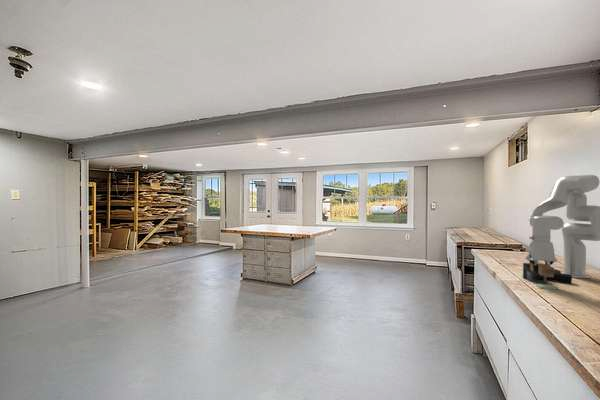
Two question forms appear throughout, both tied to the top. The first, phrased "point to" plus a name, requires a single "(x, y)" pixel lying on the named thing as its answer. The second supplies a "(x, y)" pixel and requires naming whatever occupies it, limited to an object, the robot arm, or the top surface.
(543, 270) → the walnut rail
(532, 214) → the robot arm
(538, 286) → the pad
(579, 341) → the top surface
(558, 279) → the pipe connector
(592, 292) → the top surface
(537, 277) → the grey metal bracket
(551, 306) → the top surface
